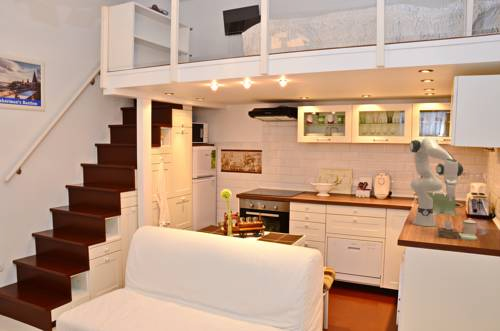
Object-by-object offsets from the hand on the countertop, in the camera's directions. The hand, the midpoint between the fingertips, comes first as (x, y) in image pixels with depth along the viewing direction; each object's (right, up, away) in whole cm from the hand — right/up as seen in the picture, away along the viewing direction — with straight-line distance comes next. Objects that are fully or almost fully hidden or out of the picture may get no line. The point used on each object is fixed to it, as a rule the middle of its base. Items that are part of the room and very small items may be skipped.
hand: (449, 200), depth 281 cm
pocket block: (-1, -27, +2) cm, 27 cm away
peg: (-1, -27, +2) cm, 27 cm away
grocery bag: (+37, -22, +95) cm, 104 cm away
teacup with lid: (+20, -27, +13) cm, 36 cm away
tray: (+12, -27, -3) cm, 30 cm away
